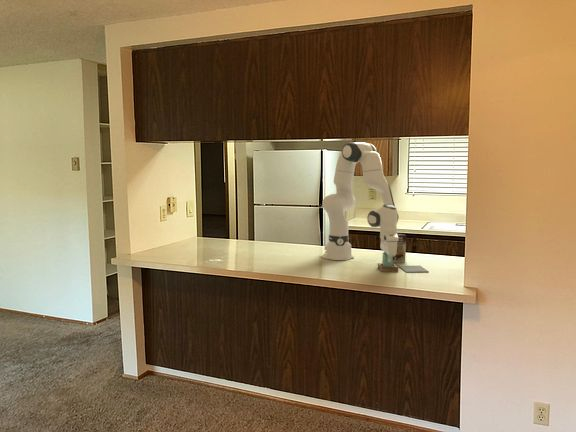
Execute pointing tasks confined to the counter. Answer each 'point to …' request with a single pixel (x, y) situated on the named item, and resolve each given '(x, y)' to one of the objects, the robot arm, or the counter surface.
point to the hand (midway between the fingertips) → (387, 260)
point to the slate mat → (414, 269)
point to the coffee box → (400, 249)
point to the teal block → (384, 261)
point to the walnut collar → (388, 268)
